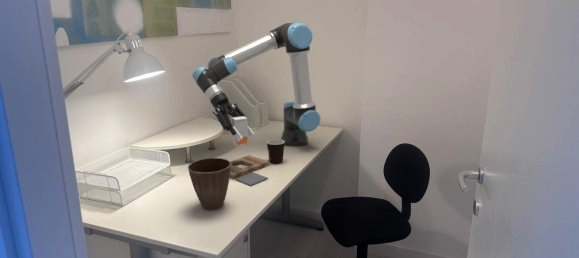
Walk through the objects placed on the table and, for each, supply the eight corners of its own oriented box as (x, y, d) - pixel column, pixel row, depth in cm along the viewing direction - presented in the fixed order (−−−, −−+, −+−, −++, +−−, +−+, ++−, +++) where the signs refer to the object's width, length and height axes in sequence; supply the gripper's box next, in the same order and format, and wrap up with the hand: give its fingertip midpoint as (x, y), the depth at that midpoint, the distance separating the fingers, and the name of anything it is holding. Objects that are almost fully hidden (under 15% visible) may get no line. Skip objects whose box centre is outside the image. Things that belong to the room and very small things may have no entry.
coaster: (252, 173, 171) (252, 172, 170) (268, 179, 164) (268, 177, 164) (235, 180, 163) (234, 178, 163) (250, 186, 157) (250, 184, 157)
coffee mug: (282, 165, 180) (282, 145, 177) (265, 164, 182) (264, 144, 179) (287, 157, 191) (287, 137, 188) (271, 156, 192) (270, 137, 190)
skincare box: (235, 146, 166) (234, 119, 163) (232, 143, 170) (231, 117, 167) (248, 144, 169) (247, 118, 165) (245, 141, 172) (244, 116, 169)
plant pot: (195, 218, 131) (191, 175, 127) (188, 201, 144) (184, 161, 140) (237, 210, 137) (235, 168, 133) (227, 194, 150) (224, 155, 146)
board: (249, 158, 189) (249, 155, 188) (269, 165, 180) (269, 161, 179) (213, 171, 173) (213, 167, 173) (233, 179, 164) (233, 175, 164)
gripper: (227, 98, 181) (255, 137, 177) (196, 106, 165) (226, 148, 161) (236, 88, 177) (264, 127, 172) (204, 95, 160) (235, 138, 156)
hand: (246, 137), depth 166 cm, fingers closed on skincare box, 7 cm apart
